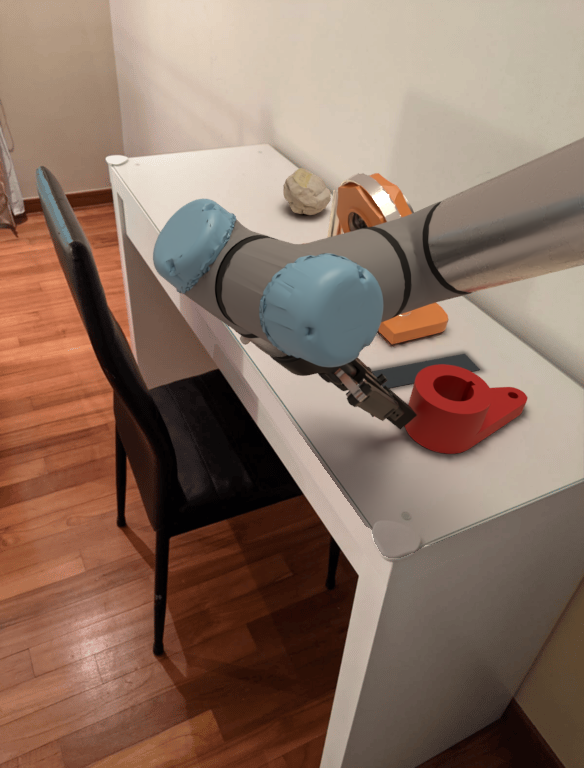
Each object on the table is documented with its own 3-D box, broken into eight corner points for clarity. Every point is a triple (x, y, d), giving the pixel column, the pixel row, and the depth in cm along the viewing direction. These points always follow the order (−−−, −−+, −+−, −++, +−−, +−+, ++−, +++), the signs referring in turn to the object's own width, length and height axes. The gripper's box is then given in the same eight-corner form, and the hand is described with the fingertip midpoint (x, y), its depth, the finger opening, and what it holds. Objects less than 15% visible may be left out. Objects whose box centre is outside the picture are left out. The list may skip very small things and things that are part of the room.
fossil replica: (322, 199, 133) (278, 203, 132) (323, 160, 128) (276, 164, 127) (337, 219, 124) (289, 223, 122) (338, 178, 119) (288, 182, 117)
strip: (480, 369, 89) (480, 369, 89) (384, 389, 84) (384, 388, 84) (464, 354, 92) (464, 353, 92) (371, 371, 87) (371, 371, 87)
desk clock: (388, 347, 92) (417, 222, 79) (297, 256, 112) (308, 144, 99) (452, 332, 97) (489, 211, 84) (354, 247, 117) (372, 139, 104)
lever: (431, 461, 74) (444, 421, 70) (390, 412, 80) (400, 372, 76) (542, 427, 81) (560, 388, 77) (496, 384, 87) (511, 346, 83)
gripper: (243, 315, 64) (359, 404, 80) (290, 394, 55) (409, 476, 71) (295, 265, 62) (402, 366, 79) (351, 337, 53) (459, 434, 70)
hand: (405, 418), depth 75 cm, fingers closed
